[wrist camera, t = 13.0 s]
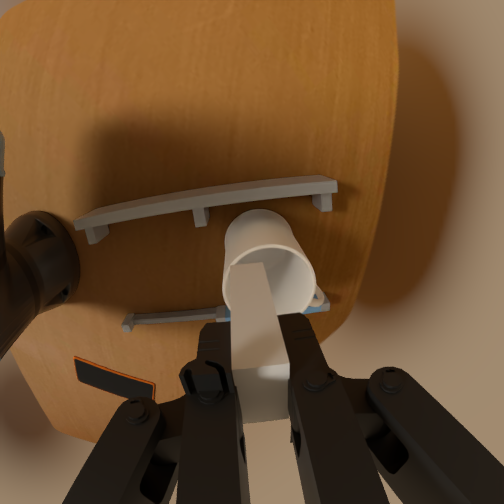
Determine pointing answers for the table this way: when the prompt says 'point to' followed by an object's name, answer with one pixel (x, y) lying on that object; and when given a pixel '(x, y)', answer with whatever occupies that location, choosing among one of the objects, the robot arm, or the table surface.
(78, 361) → the smartphone
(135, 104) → the table surface
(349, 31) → the table surface
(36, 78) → the table surface
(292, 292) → the mug
